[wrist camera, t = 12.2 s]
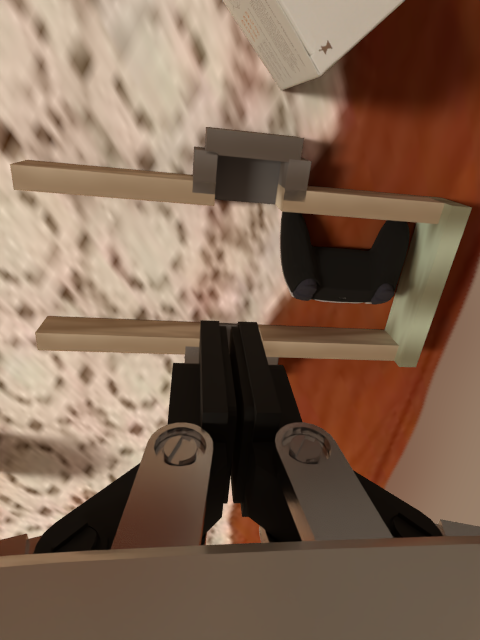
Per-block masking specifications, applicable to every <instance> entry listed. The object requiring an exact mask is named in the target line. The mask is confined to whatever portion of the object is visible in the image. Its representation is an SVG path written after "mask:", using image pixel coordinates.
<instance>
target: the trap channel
mask: <svg viewBox="0 0 480 640" xmlns="http://www.w3.org/2000/svg"><path fill="white" fill-rule="evenodd" d="M303 141H304V138H299V137H294V136H284V135H275V134H266V133H257V132H248V131H238V130H229V129H220V128H211V127H206V139H205V148H202V147H194V162H193V175H186V174H175V173H164V172H153V171H142V170H131V169H120V168H109V167H98V166H87V165H76V164H65V163H54V162H44V161H33V160H25V161H21V162H17V163H13V164H10V166H11V173H12V180H13V187H14V190H25V191H37V192H49V193H61V194H74V195H86V196H98V197H111V198H123V199H135V200H147V201H160V202H172V203H184V204H197V205H209V206H214V201H215V187H216V172H217V158H218V155H221V156H231V157H241V158H252V159H262V160H272V161H281V165H280V173H279V180H278V188H277V195H276V202H275V205H276V206H277V207H278V208H279V209H280V210H281V211H283V212H295V213H307V214H319V215H332V216H344V217H356V218H369V219H381V220H393V221H406V222H417V223H416V227H415V230H414V233H413V237H412V240H411V243H410V247H409V250H408V254H407V257H406V260H405V264H404V267H403V270H402V274H401V277H400V280H399V284H398V287H397V291H396V294H395V297H394V301H393V304H392V307H391V311H390V314H389V318H388V321H387V324H386V328H385V330H375V329H350V328H326V327H301V326H277V325H258V326H259V332H260V335H261V339H262V343H263V346H264V350H265V354H266V357H267V361H268V365H278V359H279V357H288V358H322V359H356V360H390V361H395V362H396V363H397V365H398V366H399V367H416V365H417V362H418V359H419V356H420V354H421V351H422V348H423V345H424V342H425V339H426V337H427V334H428V331H429V328H430V325H431V322H432V320H433V317H434V314H435V311H436V308H437V305H438V303H439V300H440V297H441V294H442V291H443V288H444V286H445V283H446V280H447V277H448V274H449V271H450V269H451V266H452V263H453V260H454V257H455V254H456V252H457V249H458V246H459V243H460V240H461V237H462V235H463V232H464V229H465V226H466V223H467V220H468V218H469V215H470V212H471V209H472V207H469V206H466V205H463V204H460V203H456V202H453V201H450V200H447V199H444V198H437V197H427V196H416V195H405V194H394V193H383V192H372V191H361V190H350V189H339V188H328V187H317V186H308V180H309V174H310V168H311V162H312V161H309V160H307V159H304V158H301V154H302V148H303ZM35 335H36V342H37V348H38V350H51V351H85V352H119V353H153V354H185V363H197V364H198V363H199V342H200V322H178V321H154V320H129V319H105V318H80V317H56V316H47V318H46V319H45V320H44V322H43V323H42V324H41V326H40V327H39V328H38V330H37V331H36V332H35Z"/></svg>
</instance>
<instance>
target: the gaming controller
mask: <svg viewBox="0 0 480 640" xmlns="http://www.w3.org/2000/svg"><path fill="white" fill-rule="evenodd" d="M408 245H409V227H408V224H407V222H406V221H393V220H387V221H386V222H385V224H384V225H383V227H382V228H381V230H380V232H379V234H378V236H377V238H376V240H375V242H374V244H373V246H372V248H371V249H370V250H369V251H364V250H356V249H342V248H329V247H313V246H312V245H311V241H310V237H309V232H308V229H307V226H306V223H305V220H304V218H303V216H302V214H301V213H295V212H282V218H281V230H280V258H281V265H282V272H283V275H284V279H285V282H286V284H287V287H288V289H289V291H290V294H291V296H292V297H294V298H296V299H300V300H305V301H308V300H311V299H313V300H318V301H324V302H336V303H363V302H365V303H367V304H371V303H372V304H381V303H385V302H387V301H389V300H390V299H391V298H392V297H393V296H394V292H395V289H396V285H397V282H398V279H399V276H400V273H401V270H402V267H403V264H404V261H405V258H406V254H407V249H408Z"/></svg>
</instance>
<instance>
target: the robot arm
mask: <svg viewBox="0 0 480 640" xmlns="http://www.w3.org/2000/svg"><path fill="white" fill-rule="evenodd" d="M230 475H231V485H232V496H233V503H241V511H242V517H250V518H251V519H252V520H253V521H255V522H256V523H257V524H258V525H260V528H259V532H260V539H261V542H262V543H249V544H225V545H206V535H207V531H208V530H209V529H210V528H211V527H212V526H213V525H214V524H215V523H216V522H217V521H218V520H219V519H220V518H221V517H222V510H223V503H227V502H228V493H229V484H230ZM0 640H480V527H479V526H473V525H468V524H463V523H457V522H451V521H446V520H440V521H439V523H438V524H434V523H433V521H432V520H431V519H430V518H428V517H427V516H426V515H424V514H423V513H422V512H420V511H419V510H417V509H415V508H413V507H412V506H410V505H409V504H407V503H406V502H404V501H402V500H401V499H399V498H397V497H396V496H394V495H392V494H391V493H389V492H388V491H386V490H384V489H383V488H381V487H379V486H378V485H376V484H375V483H373V482H371V481H370V480H368V479H366V478H365V477H363V476H361V475H360V474H358V473H357V472H355V471H353V470H352V468H351V466H350V465H349V463H348V462H347V460H346V458H345V457H344V455H343V453H342V452H341V450H340V448H339V447H338V445H337V443H336V442H335V440H334V439H333V438H332V436H331V435H330V434H329V433H327V432H326V431H325V430H323V429H322V428H320V427H318V426H315V425H313V424H308V423H303V422H302V419H301V416H300V413H299V410H298V407H297V404H296V401H295V398H294V395H293V392H292V389H291V386H290V383H289V380H288V377H287V374H286V371H285V368H284V366H283V365H268V361H267V357H266V354H265V350H264V346H263V343H262V339H261V335H260V332H259V328H258V324H257V322H238V325H237V326H231V331H230V342H229V345H228V338H227V330H226V326H219V321H201V322H200V342H199V363H198V364H197V363H173V370H172V381H171V393H170V404H169V415H168V425H166V426H164V427H162V428H160V429H158V430H157V431H156V432H155V433H154V434H152V436H151V437H150V439H149V441H148V443H147V446H146V449H145V452H144V454H143V457H142V460H141V463H140V464H138V465H137V466H135V467H134V468H132V469H131V470H130V471H128V472H127V473H125V474H124V475H123V476H121V477H120V478H118V479H117V480H115V481H114V482H113V483H111V484H110V485H108V486H107V487H106V488H104V489H103V490H101V491H100V492H98V493H97V494H96V495H94V496H93V497H91V498H90V499H89V500H87V501H86V502H84V503H83V504H81V505H80V506H79V507H77V508H76V509H74V510H73V511H72V512H70V513H69V514H67V515H66V516H64V517H63V518H62V519H60V520H59V521H57V522H56V523H55V524H54V525H52V526H51V527H50V528H49V529H48V530H47V531H46V532H45V533H44V534H43V535H42V536H39V537H35V538H31V539H28V536H27V534H23V535H19V536H15V537H11V538H6V539H2V540H0Z"/></svg>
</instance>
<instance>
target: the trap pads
mask: <svg viewBox="0 0 480 640" xmlns="http://www.w3.org/2000/svg"><path fill="white" fill-rule="evenodd" d="M280 165H281V161H272V160H262V159H252V158H241V157H231V156H221V155H218V158H217V172H216V187H215V199H217V200H229V201H241V202H253V203H265V204H275V202H276V195H277V188H278V180H279V173H280ZM237 325H238V324H227V323H219V326H226V330H227V338H228V345H229V342H230V331H231V326H237ZM258 328H259V326H258Z"/></svg>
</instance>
